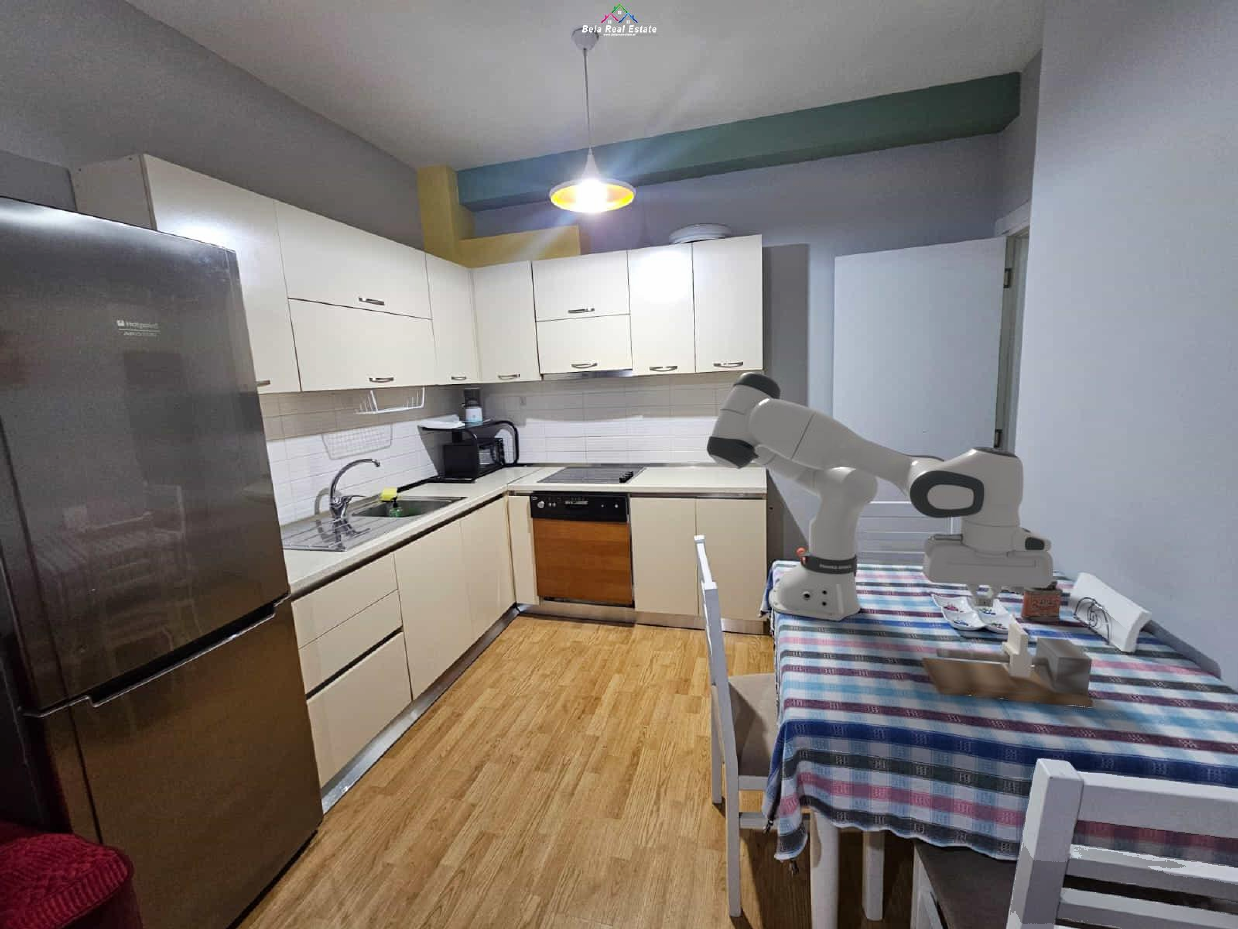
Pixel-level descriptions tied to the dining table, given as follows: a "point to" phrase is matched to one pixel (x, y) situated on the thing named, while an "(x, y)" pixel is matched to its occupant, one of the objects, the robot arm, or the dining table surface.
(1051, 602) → the lighter
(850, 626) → the dining table surface
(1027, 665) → the white stepped block
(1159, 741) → the dining table surface
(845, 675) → the dining table surface
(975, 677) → the rod board
